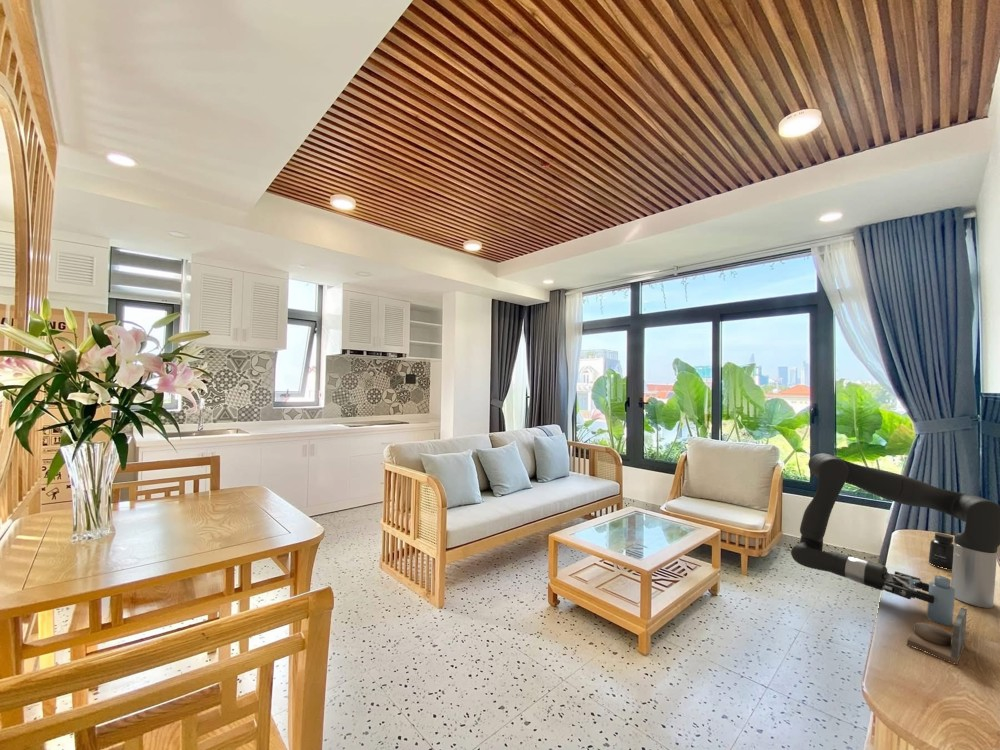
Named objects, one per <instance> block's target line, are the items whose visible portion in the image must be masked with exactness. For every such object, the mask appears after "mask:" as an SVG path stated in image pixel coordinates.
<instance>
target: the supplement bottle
mask: <svg viewBox="0 0 1000 750" xmlns="http://www.w3.org/2000/svg"><path fill="white" fill-rule="evenodd" d="M953 553H954V537H953V536H952V535H950V534H946V533H942V532H936V533H934V539H931V540H930V543H929V552H928V554H929V555H928V564H930V563H931V564H933V565H935V566H939V567H943V568H947V569H952V566H953ZM931 564H930V565H931ZM933 565H932V566H933ZM935 566H934V567H935Z"/></svg>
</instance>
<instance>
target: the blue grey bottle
mask: <svg viewBox="0 0 1000 750" xmlns="http://www.w3.org/2000/svg"><path fill="white" fill-rule="evenodd" d="M951 580H952V579H950V578H948V577H945V576H942V575H934V581H930V582H929V583H928V584H929V592H928V594H931V595H933V596H934V603H929V602H927V612H926V613H927V614H926V617H927V618H928V619H929V620H930V621H933V623H937V624H939V625H942V624H943V626H949V627H951V626H953V624H954V622H953V621H954V609H955V599H956V598H955V589H954V588H952V587H951Z"/></svg>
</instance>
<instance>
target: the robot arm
mask: <svg viewBox="0 0 1000 750" xmlns="http://www.w3.org/2000/svg"><path fill="white" fill-rule="evenodd" d="M807 464H808V468H809V470H810V472H811V473H812V475H813V476H815V477H816V478H817V486H816V492H815V493H814V496H813V498H812V499H811V501H810V502H809V503H808V505H807V507H806V508H805V510H804V512H803V515H802V519H801V522H800V525H799V526H800V527H799V533H800V535H801V536H800V540H799V543H797V544H795V545H794V546H793V547H792V548H791V551H790V555H791V558H792V559H793V560H794V561H795V562H796V563H797V564H799V565H800V566H802V567H806V568H808V569H809V568H810V569H813V570H817V571H822V572H828V573H831V574H834V575H837V576H839V577H843V578H846V579H848V580H850V581H853V582H855V583H857V584H861V585H864V586H867V587H870V588H873V589H876V590H878V591H885V592H887V593H890V594H893V595H896V596H899V597H901V598H905V599H907V600H912V599H917V600H920V601H924V602H926V603H928V602H929V603H934V596H933V595H931V594H929V583H926V582H923V581H922V580H921V578H920V577H917V576H914V575H913V576H912V575H911V574H907V573H903V572H899V571H894V573H889V572H888V568H887V566H885V565H882V564H879V563H875V562H873V561H869V560H866V559H862V558H859V557H853V556H850V555H846V554H843V553H840V552H836V551H824V550H823V549H824V548H823V547H824V538H825V534H826V530H827V527H828V524H829V520H830V517H831V514H832V510H833V508H834V506H835V504H836V502H837V499H838V497H839V495H840V492H841V490H842V489H843V488H844V486H845V483H846V484H849V485H852V486H854V487H857V488H858V489H861V490H864V491H866V492H868V493H869V494H872V495H875V496H878V497H880V498H883V499H885V500H888V501H891V502H895V503H898V504H901V505H902V504H903V505H905V506H912V507H916V508H917V507H918V508H927V509H931V510H935V511H937V512H941V513H943V514H946V515H948V516H951V517H953V518H955V519H958V520H960V521H962V522H964V523H965V524H964V525H965V527H964V531H963V532H958V533H955V534H954V537H953V544H954V553H953V566H952V570H951V579H950V580H951V582H950V587H952V588H954V589H955V598H954V599H956V600H958V601H961V602H964V603H966V604H968V605H972V606H975V607H980V608H983V609H985V608H987V609H992V608H993V607H994V598H995V590H996V589H995V588H996V574H997V573H996V572H997V559H998V558H997V557H998V548H999V547H1000V505H999V504H998V503H997V502H995V501H992V500H989V499H987V498H983V497H981V496H978V495H975V494H970V493H964V492H958V491H955V490H954V491H953V490H948V489H944V488H939V487H936V486H934V485H932V484H929V483H926V482H924V481H921V480H919V479H917V478H913V477H911V476H906V475H902V474H899V473H894V472H891V471H888V470H887V471H886V470H883V469H879V468H876V467H875V468H874V467H870V466H865V465H860V464H857V463H854V462H850V461H848V460H845V459H843V458H840V457H838V456H835V455H833V454H830V453H816V454H814V455H813V456H811V457H810V458H809V460H808V463H807ZM921 590H922V591H921Z"/></svg>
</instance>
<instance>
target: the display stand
mask: <svg viewBox="0 0 1000 750" xmlns="http://www.w3.org/2000/svg"><path fill="white" fill-rule="evenodd" d="M967 612H968V611H967V608H964V607H960V608H959V612H958V614H957V616H956V618H955V620H954V622H953V625H952V626H953V627H952V633H949V632H948V631H946V630H945V629H943V628H940V627H938V626H936V625H933V624H929V623H925V622H919V621H917V622H916V623H914V628H913V629H912V631H911V633H910V635H909V636H908V638H907V641H906V646H908V645H910V646H913V647H916V648H918V649H921V650H923V651H926V652H928V653H930V654H933V655H935V656H937V657H940V658H942V659H945V660H947V661H950V662H952V663H955V664H957V665H958V664H959V662H958V661H960V659H961V656H962V654H963V650H964V648H965V647H966V646H965V645H966V627H967V626H966V625H967ZM910 646H909V647H910ZM913 647H912V648H913ZM918 649H917V650H918ZM923 651H922V652H923ZM928 653H927V654H928ZM961 653H962V654H961ZM930 654H929V655H930ZM935 656H934V657H935ZM937 657H936V658H937ZM940 658H939V659H940ZM959 658H960V659H959ZM942 659H941V660H942ZM945 660H944V661H945ZM947 661H946V662H947ZM950 662H949V663H950ZM952 663H951V664H952ZM955 664H954V665H955Z"/></svg>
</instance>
